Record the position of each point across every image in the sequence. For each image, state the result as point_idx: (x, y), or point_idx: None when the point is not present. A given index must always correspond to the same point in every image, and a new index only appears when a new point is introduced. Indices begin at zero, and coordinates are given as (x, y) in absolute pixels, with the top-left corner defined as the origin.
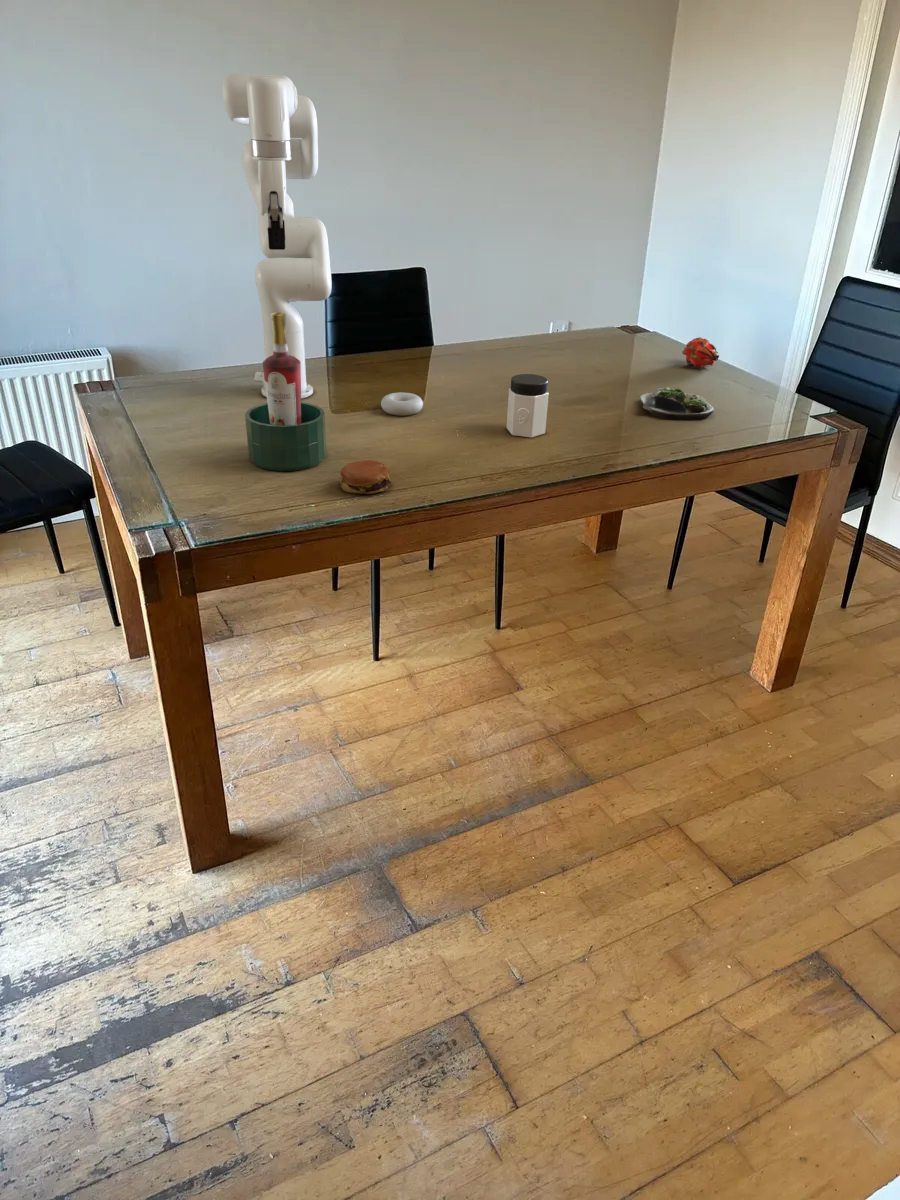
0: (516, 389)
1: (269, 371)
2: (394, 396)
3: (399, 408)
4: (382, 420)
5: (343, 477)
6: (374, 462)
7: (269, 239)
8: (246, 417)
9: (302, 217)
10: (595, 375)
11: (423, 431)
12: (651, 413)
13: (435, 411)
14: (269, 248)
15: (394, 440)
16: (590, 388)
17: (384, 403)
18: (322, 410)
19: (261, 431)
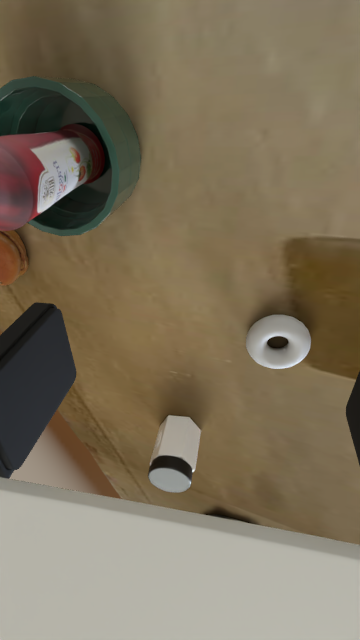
0: (158, 460)
1: None
2: (291, 340)
3: (248, 335)
4: (239, 305)
5: None
6: (1, 274)
7: (5, 339)
8: (12, 81)
9: None
10: (353, 529)
11: (188, 343)
12: (215, 515)
13: (264, 371)
14: (38, 303)
15: (157, 306)
16: (308, 511)
17: (269, 321)
18: (73, 233)
19: None
